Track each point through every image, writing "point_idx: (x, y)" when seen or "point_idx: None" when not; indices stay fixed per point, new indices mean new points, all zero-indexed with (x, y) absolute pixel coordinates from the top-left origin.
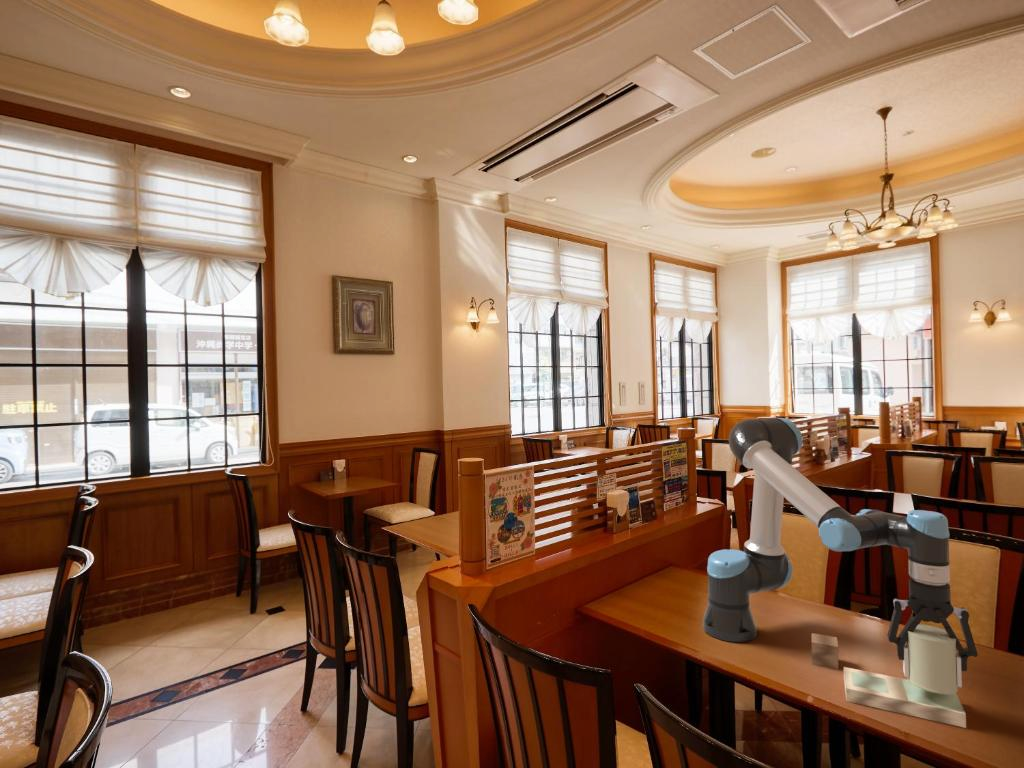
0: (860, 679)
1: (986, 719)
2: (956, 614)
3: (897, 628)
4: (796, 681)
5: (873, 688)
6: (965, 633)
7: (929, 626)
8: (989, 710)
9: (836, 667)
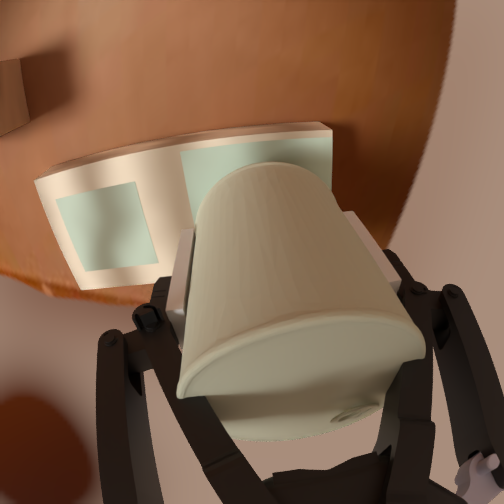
0: (85, 230)
1: (370, 179)
2: (458, 486)
3: (147, 428)
4: (5, 247)
5: (123, 259)
6: (450, 404)
7: (333, 329)
8: (389, 129)
9: (24, 124)
